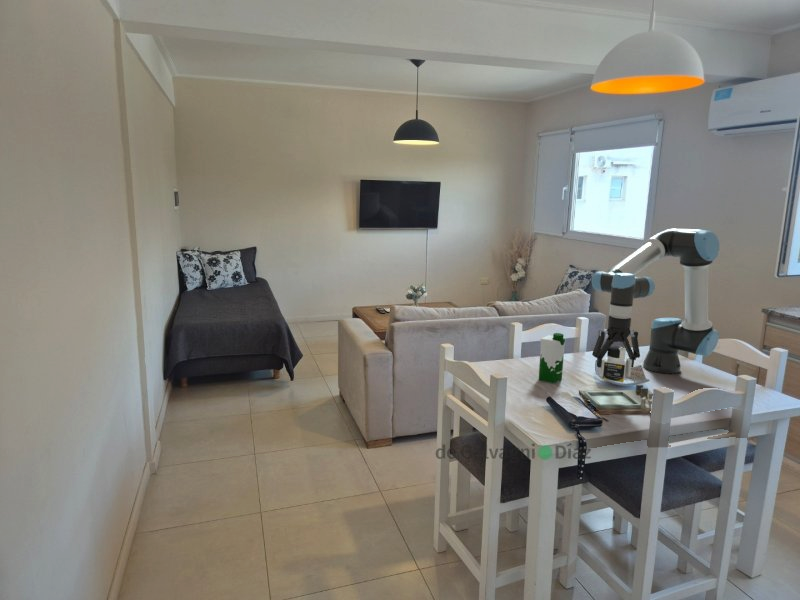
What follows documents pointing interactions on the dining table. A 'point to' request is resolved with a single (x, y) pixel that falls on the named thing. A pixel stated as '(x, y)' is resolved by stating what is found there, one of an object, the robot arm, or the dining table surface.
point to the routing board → (620, 400)
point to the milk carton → (551, 358)
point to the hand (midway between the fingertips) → (614, 375)
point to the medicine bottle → (615, 364)
